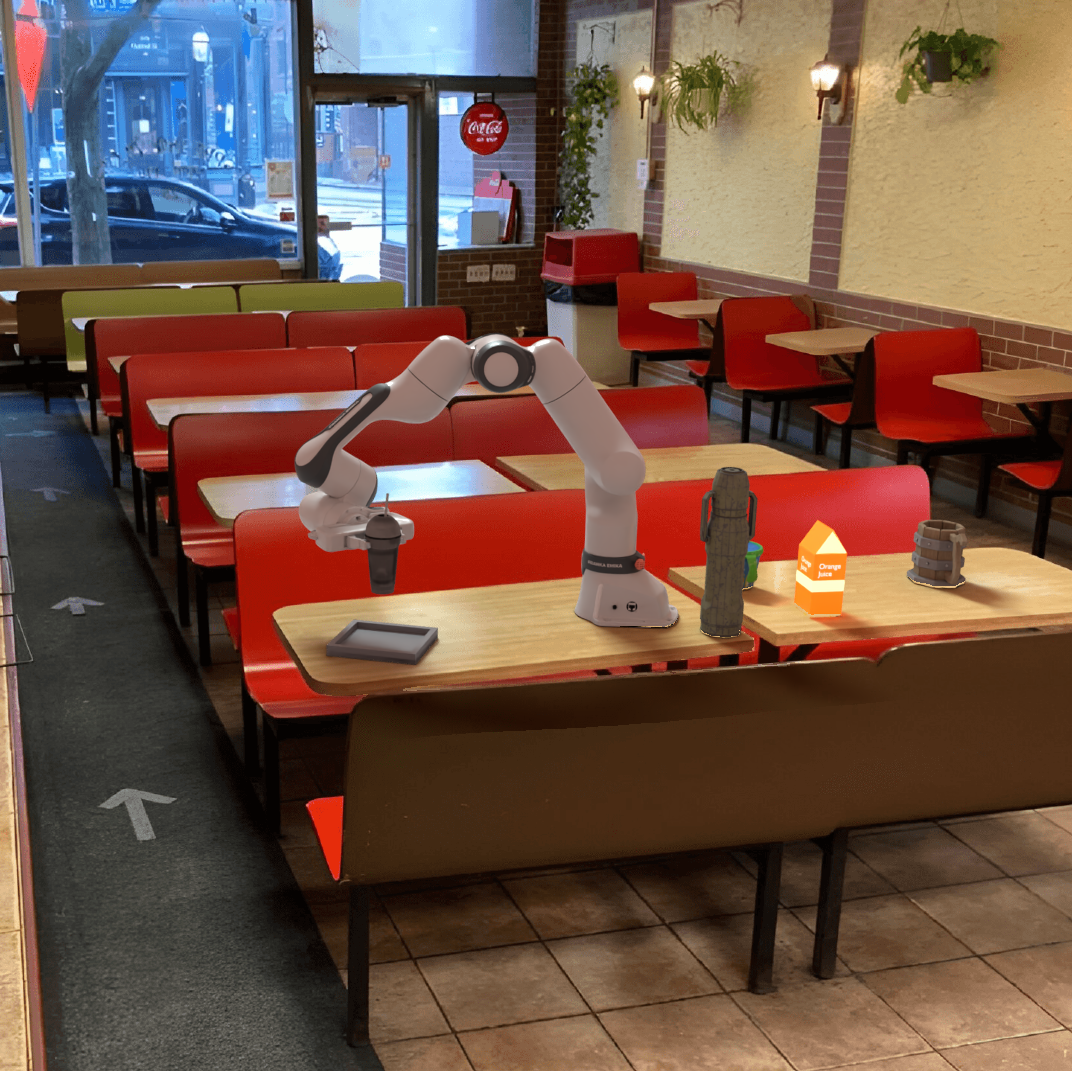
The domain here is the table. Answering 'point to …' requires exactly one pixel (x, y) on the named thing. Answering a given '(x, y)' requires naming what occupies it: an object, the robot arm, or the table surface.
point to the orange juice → (820, 571)
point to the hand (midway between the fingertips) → (385, 542)
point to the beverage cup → (383, 551)
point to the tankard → (938, 553)
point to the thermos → (726, 550)
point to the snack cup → (751, 564)
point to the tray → (382, 642)
